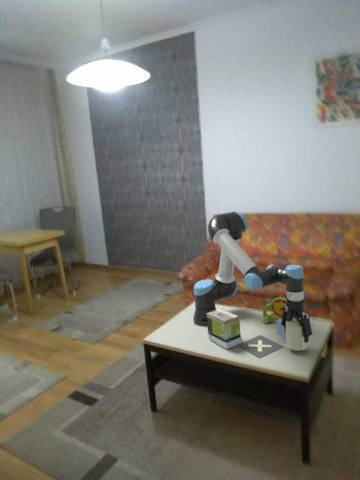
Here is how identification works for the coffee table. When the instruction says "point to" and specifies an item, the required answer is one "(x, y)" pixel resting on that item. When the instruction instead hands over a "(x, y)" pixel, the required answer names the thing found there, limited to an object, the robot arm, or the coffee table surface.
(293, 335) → the can
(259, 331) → the coffee table surface
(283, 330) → the blue cube
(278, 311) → the toy lion
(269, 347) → the letter mat
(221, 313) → the tea box
